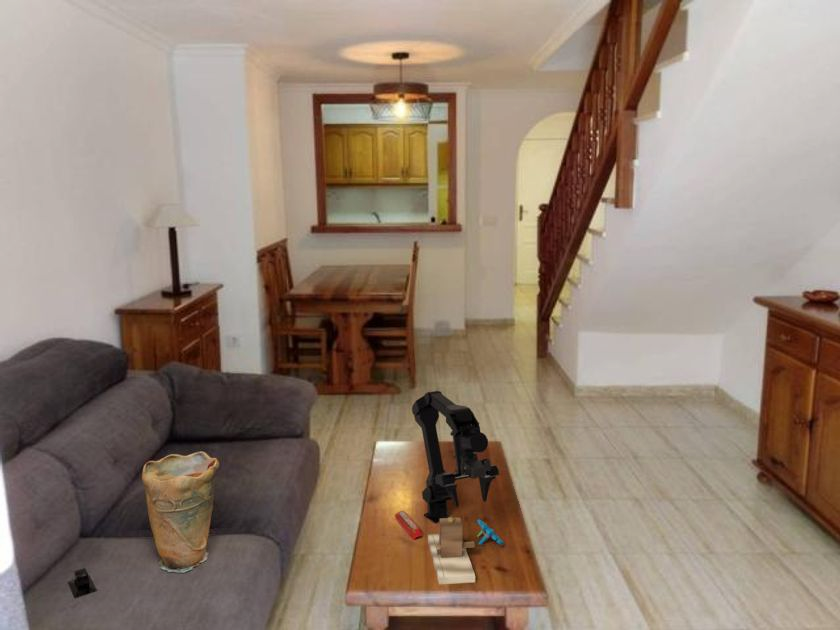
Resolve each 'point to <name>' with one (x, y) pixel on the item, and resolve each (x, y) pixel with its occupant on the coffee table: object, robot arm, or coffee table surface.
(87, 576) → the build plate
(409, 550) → the coffee table surface
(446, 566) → the pine board
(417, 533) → the candy bar
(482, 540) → the gear
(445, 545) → the tan knobbed block
